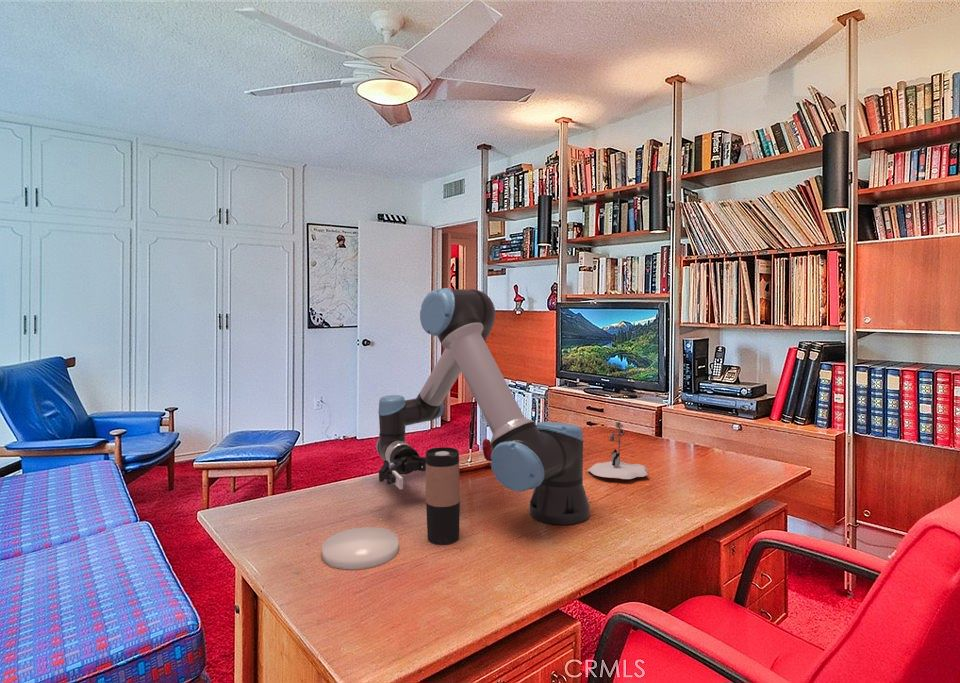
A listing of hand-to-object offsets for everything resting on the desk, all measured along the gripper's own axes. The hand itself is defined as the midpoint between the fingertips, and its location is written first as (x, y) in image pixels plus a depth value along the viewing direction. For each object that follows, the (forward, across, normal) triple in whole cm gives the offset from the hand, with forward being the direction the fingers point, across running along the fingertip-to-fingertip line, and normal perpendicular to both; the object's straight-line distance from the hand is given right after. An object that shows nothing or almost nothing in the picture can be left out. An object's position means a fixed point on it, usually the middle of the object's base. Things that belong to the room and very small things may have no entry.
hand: (428, 479), depth 128 cm
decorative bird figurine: (-37, -36, -11) cm, 53 cm away
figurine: (-10, -66, -12) cm, 68 cm away
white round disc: (+7, +18, -11) cm, 22 cm away
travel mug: (+9, 0, -11) cm, 14 cm away
